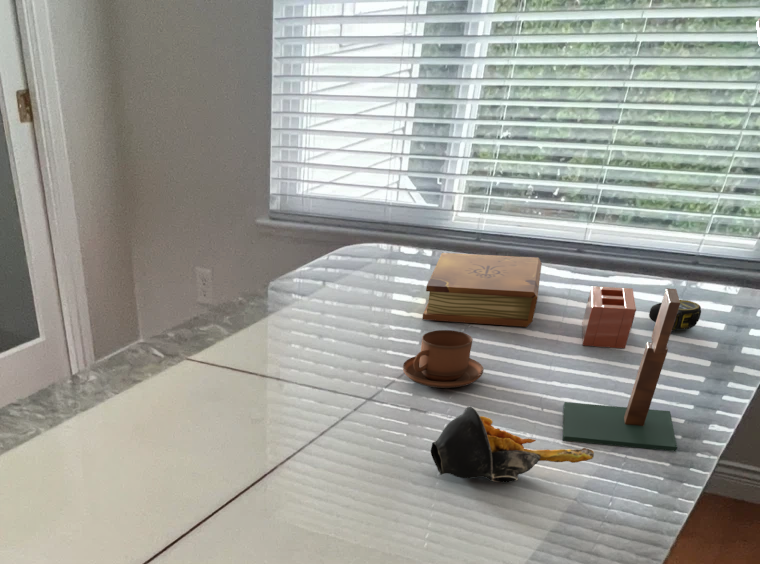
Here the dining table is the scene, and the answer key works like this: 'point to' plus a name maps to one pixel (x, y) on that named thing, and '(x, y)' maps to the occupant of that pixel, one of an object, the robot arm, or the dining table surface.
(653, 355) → the notched brown wooden bar
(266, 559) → the dining table surface
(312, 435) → the dining table surface
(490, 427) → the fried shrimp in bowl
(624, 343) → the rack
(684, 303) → the tape measure
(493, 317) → the diary
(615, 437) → the mat
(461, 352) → the cup and saucer
